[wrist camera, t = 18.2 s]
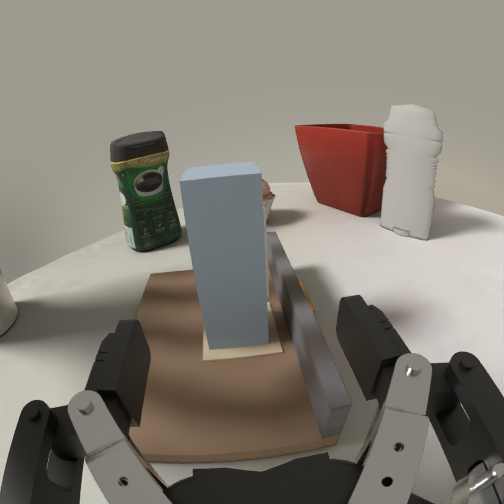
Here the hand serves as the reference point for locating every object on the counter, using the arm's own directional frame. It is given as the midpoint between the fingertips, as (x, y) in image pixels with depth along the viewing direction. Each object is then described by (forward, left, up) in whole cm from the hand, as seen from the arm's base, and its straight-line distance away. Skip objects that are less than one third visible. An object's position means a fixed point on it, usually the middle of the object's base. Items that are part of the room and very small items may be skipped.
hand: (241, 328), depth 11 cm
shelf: (-11, +3, -12) cm, 16 cm away
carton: (-10, +5, -10) cm, 15 cm away
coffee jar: (-39, +7, -12) cm, 42 cm away
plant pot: (-27, +47, -12) cm, 56 cm away
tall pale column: (-12, +41, -12) cm, 45 cm away
